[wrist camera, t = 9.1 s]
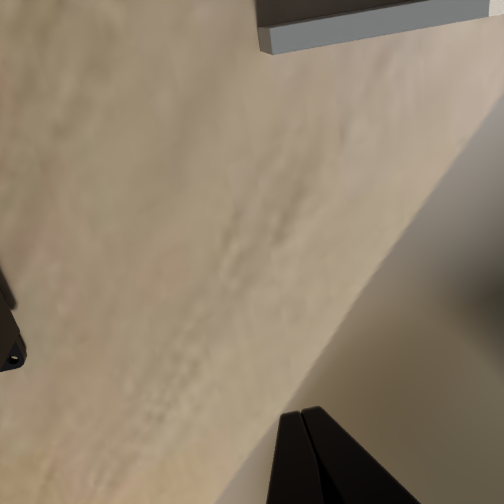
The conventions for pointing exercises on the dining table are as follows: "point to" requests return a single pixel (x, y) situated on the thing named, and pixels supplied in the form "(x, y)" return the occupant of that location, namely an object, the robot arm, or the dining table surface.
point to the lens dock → (372, 23)
